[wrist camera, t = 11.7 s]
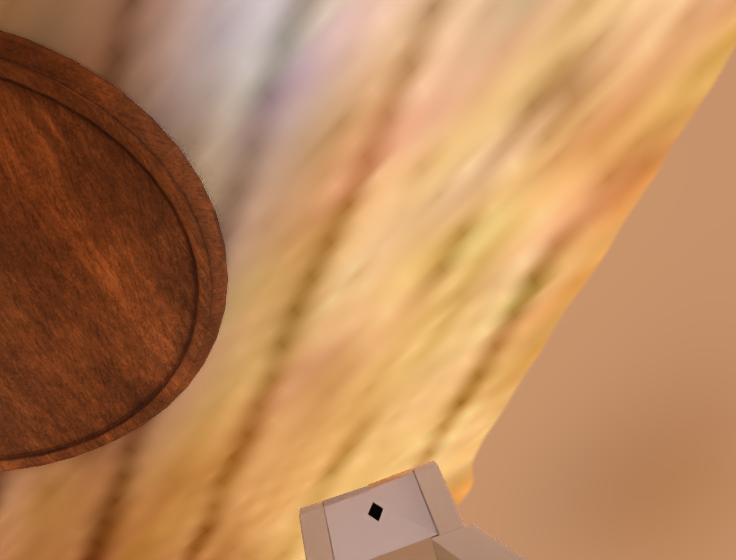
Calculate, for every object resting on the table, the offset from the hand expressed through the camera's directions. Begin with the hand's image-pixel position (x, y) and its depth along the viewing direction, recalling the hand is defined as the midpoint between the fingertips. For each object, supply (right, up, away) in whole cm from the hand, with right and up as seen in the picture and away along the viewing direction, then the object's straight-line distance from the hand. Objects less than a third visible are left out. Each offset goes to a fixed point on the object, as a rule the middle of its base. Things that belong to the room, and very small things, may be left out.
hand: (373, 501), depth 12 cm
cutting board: (-26, +5, +26) cm, 37 cm away
